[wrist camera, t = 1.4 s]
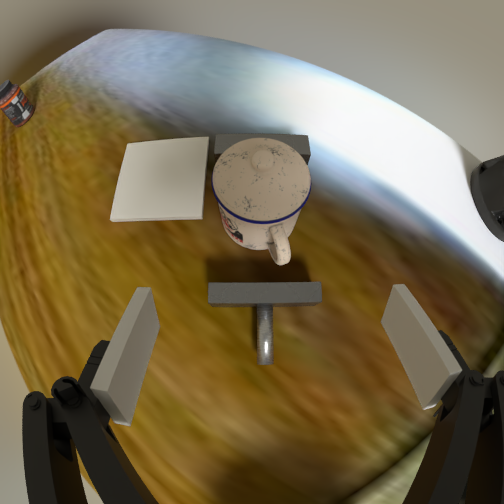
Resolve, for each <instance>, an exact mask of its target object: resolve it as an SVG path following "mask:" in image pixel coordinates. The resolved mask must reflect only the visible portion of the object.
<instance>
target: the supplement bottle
mask: <svg viewBox="0 0 504 504" xmlns="http://www.w3.org/2000/svg"><path fill="white" fill-rule="evenodd" d="M0 108H1V110H2V111H3V112H4V113H5V115H6V116H7V117H8V118H9V119H10V121H11V122H12V123H13V124H14V125H15V126H16V127H20V126H22V125H23V124H25V123H26V122H27V121H28V120H29V119H30V118H31V116H32V114H33V112H34V107H33V106H32V104H31V103H30V102H29V100H28V99H27V97H26V96H25V94H24V93H23V92H22V90H21V89H20V87H19V86H18V85H17V84H14V85H13V84H11V82H10V81H9V80H7V81H5V82H4V83H3V84H2V85H1V86H0Z"/></svg>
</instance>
